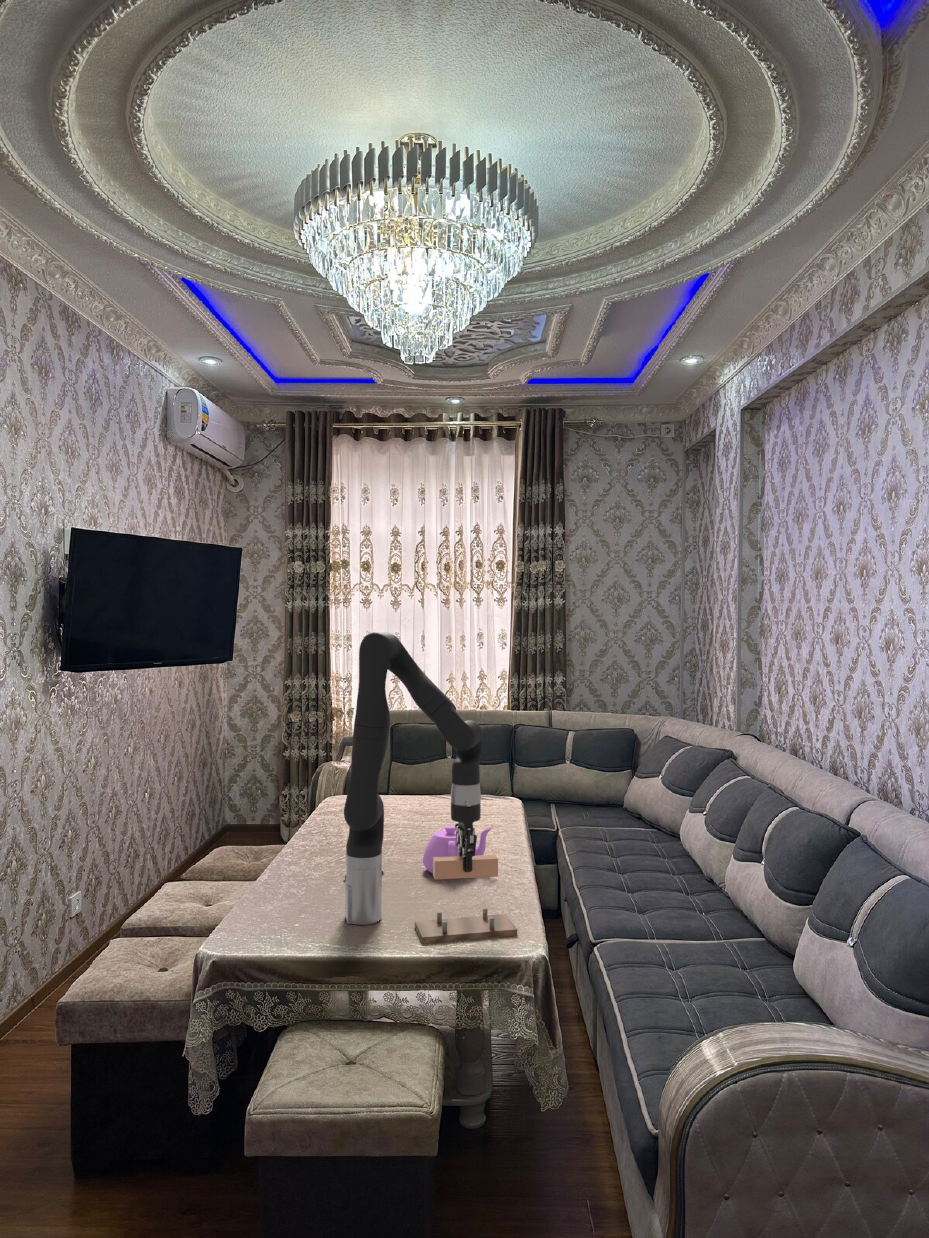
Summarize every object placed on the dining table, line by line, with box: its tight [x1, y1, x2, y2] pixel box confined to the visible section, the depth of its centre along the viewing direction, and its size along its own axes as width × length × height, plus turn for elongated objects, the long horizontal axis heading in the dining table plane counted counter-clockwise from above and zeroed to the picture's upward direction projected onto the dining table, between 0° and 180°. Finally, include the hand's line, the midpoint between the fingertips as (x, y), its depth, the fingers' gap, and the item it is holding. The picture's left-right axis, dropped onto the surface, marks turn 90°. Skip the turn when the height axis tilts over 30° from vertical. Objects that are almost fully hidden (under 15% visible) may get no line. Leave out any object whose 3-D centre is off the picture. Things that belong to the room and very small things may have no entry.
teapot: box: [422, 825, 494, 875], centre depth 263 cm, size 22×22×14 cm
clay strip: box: [432, 854, 499, 880], centre depth 213 cm, size 16×4×4 cm, turn 99°
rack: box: [414, 907, 518, 944], centre depth 213 cm, size 24×11×4 cm, turn 103°
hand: (465, 868), depth 213 cm, fingers closed on clay strip, 3 cm apart
